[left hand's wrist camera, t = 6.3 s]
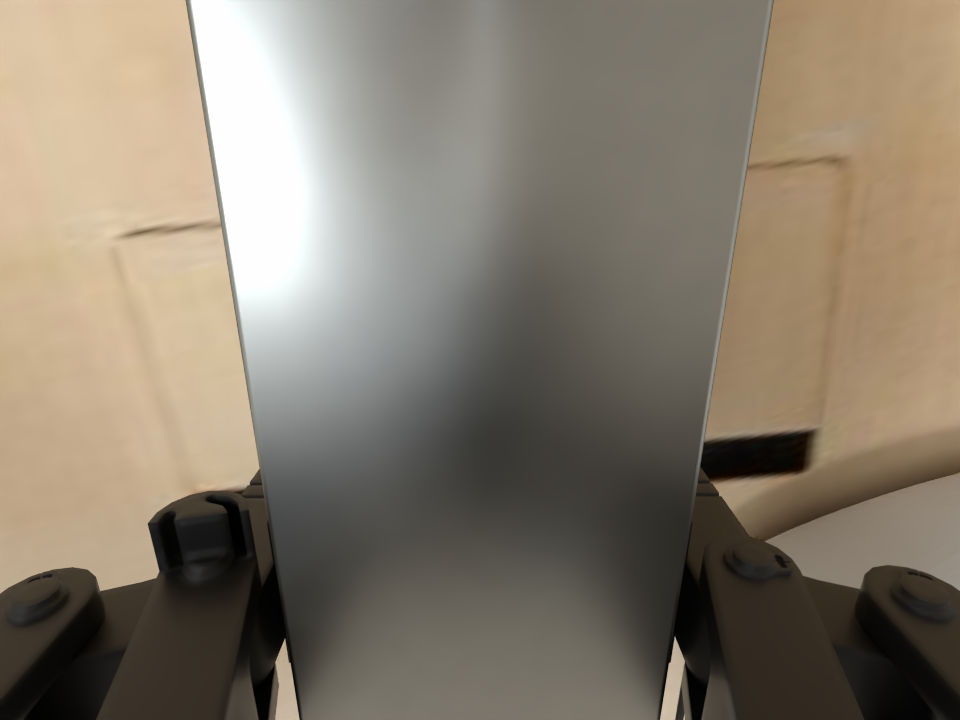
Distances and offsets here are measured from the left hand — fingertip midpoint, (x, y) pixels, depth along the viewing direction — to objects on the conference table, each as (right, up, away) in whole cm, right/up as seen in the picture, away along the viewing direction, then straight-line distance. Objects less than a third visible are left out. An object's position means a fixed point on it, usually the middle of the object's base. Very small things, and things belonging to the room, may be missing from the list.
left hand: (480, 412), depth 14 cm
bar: (0, +8, -2) cm, 9 cm away
